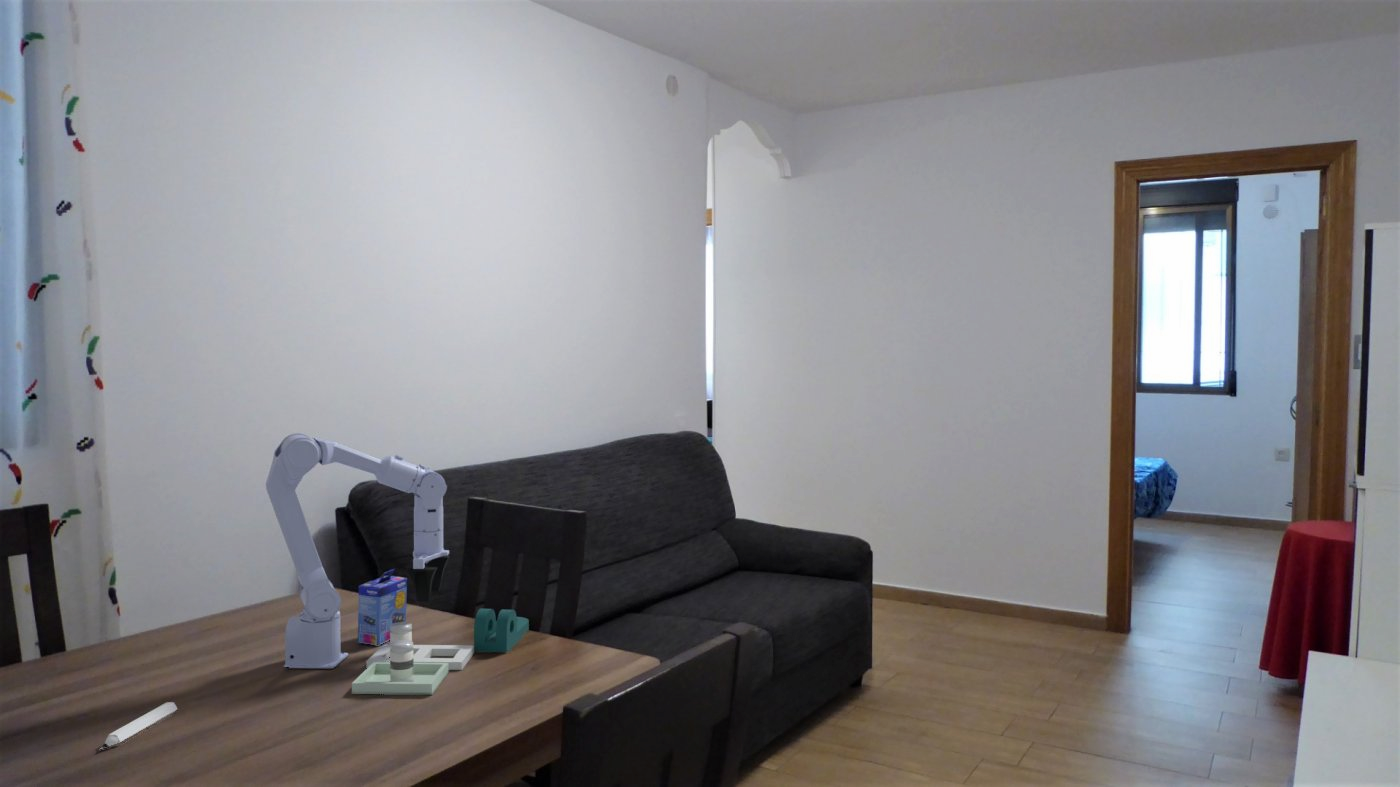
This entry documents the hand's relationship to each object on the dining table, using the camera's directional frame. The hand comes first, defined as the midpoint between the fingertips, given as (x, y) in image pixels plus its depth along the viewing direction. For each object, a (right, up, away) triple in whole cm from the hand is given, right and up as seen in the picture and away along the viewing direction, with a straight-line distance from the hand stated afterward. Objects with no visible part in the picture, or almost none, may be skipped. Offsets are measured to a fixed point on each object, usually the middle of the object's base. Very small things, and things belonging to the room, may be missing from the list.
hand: (428, 596), depth 191 cm
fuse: (-3, -11, -8) cm, 14 cm away
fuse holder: (+1, -11, -8) cm, 13 cm away
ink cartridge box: (-11, -10, +6) cm, 16 cm away
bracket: (+14, -11, +7) cm, 19 cm away
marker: (-34, -13, -43) cm, 56 cm away
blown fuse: (+1, -11, -20) cm, 23 cm away
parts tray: (+1, -11, -20) cm, 23 cm away
